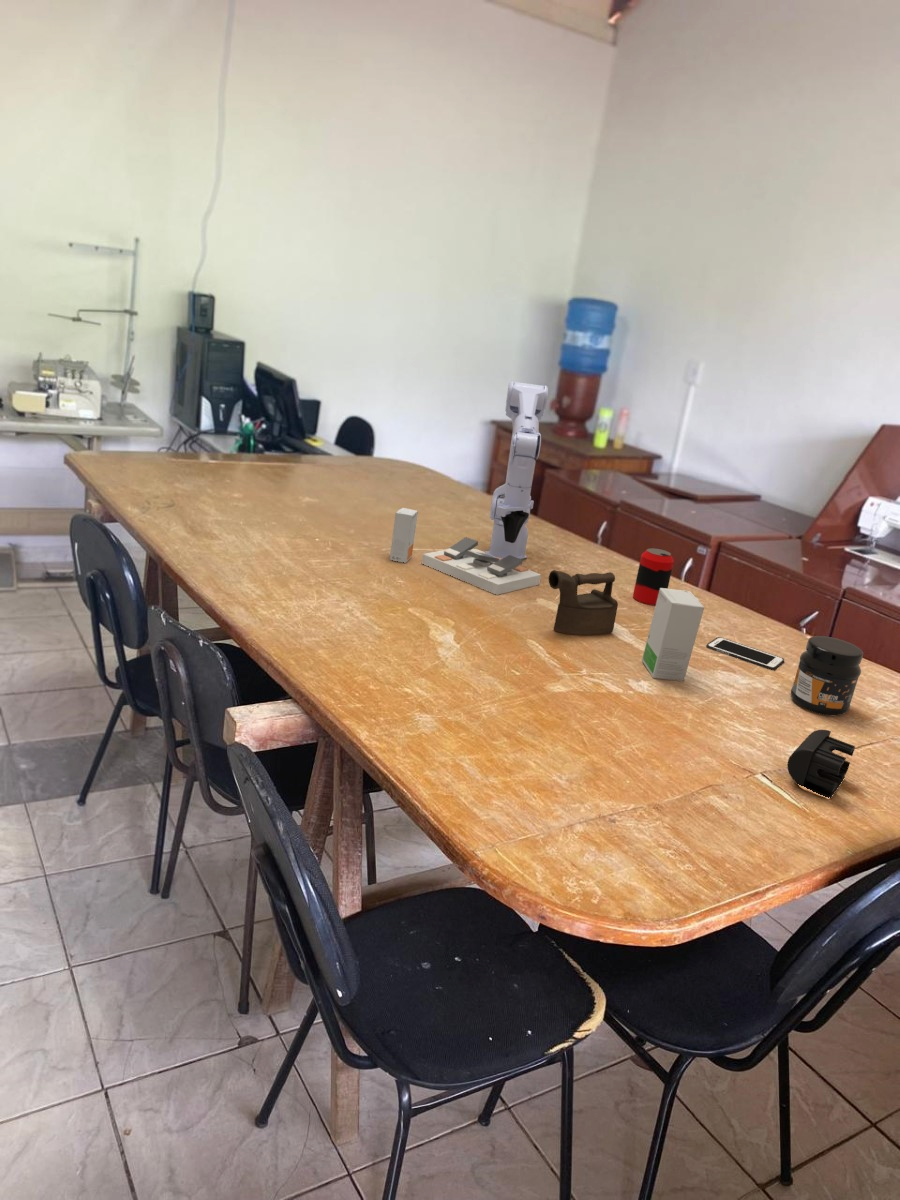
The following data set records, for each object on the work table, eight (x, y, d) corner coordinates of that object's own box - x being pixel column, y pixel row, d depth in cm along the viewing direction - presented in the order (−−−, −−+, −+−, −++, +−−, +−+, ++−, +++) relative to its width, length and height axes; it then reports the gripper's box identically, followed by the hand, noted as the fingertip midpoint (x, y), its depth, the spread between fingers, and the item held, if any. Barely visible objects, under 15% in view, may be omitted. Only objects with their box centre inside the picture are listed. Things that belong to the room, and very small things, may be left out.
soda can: (646, 606, 208) (656, 557, 204) (626, 595, 214) (636, 547, 210) (670, 605, 211) (682, 556, 208) (650, 593, 218) (661, 546, 214)
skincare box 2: (641, 661, 175) (657, 586, 170) (673, 664, 176) (690, 590, 171) (653, 679, 167) (671, 601, 162) (687, 682, 168) (705, 605, 163)
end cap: (800, 760, 144) (811, 723, 142) (845, 778, 140) (857, 740, 138) (781, 782, 136) (792, 743, 134) (828, 802, 132) (841, 762, 130)
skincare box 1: (406, 563, 214) (412, 515, 210) (389, 560, 215) (394, 512, 211) (412, 557, 220) (418, 510, 216) (396, 554, 221) (401, 507, 217)
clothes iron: (532, 624, 186) (542, 564, 182) (591, 619, 194) (603, 561, 190) (554, 639, 180) (565, 576, 176) (615, 633, 188) (627, 573, 184)
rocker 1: (466, 540, 221) (465, 536, 220) (478, 544, 218) (477, 540, 218) (444, 555, 216) (443, 551, 216) (456, 560, 214) (455, 556, 213)
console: (465, 555, 227) (467, 542, 226) (539, 584, 213) (541, 571, 212) (421, 563, 216) (423, 550, 215) (496, 595, 201) (498, 580, 200)
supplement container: (788, 707, 163) (805, 647, 159) (789, 687, 173) (805, 629, 169) (849, 723, 160) (868, 662, 156) (847, 701, 170) (865, 643, 166)
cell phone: (773, 672, 180) (774, 668, 180) (704, 648, 188) (705, 644, 187) (784, 663, 186) (785, 658, 186) (717, 640, 194) (718, 636, 193)
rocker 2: (485, 558, 217) (487, 553, 217) (498, 562, 215) (499, 558, 215) (465, 554, 211) (466, 549, 211) (478, 559, 209) (479, 554, 208)
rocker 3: (509, 558, 213) (509, 554, 212) (522, 563, 210) (522, 559, 210) (487, 570, 208) (487, 566, 207) (500, 576, 205) (500, 571, 205)
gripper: (518, 478, 213) (509, 532, 217) (488, 484, 201) (479, 542, 206) (544, 484, 210) (535, 539, 214) (515, 491, 198) (506, 550, 202)
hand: (510, 541), depth 210 cm, fingers closed
